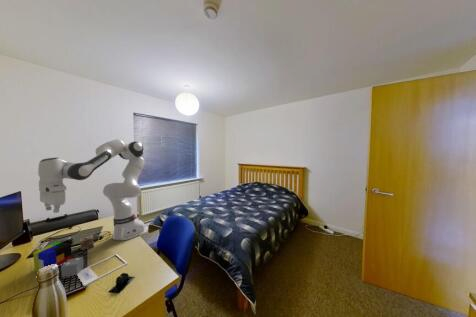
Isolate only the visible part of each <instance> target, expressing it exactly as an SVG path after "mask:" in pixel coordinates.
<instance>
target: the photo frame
mask: <svg viewBox="0 0 476 317" xmlns="http://www.w3.org/2000/svg"><path fill="white" fill-rule="evenodd" d="M115 256H116V257H117V258H119V259H120V260H121V261H122V262H123V264H122V265H120V266H117V267H115V268H114V269H112V270H110V271H108V272H106V273H104V274H102V275H100V276H98V275H97V274H96V273H95V271H94V270H93V269H92V267H94V266H96V265H99V264H101V263H102V262H105V261H107V260H109V259H112V258H114V257H115ZM126 265H128V262H127V261H126V260H124V259H123V258H122V257H121V256H120V255H118V254H117V253H115V254H113V255H110V256H109V257H106V258H105V259H102V260H99V261H98V262H95V263H94V264H91V265H89V266H87V267H84V268H83V269H82V270H81V271H80V272H79V273H78V274H77V276H78V277H77V276H76V277H77V278H78V280H79V279H80V280H79V281H80V283H81V282H82V283H81V284H82V286H83V287H84V286H85V287H86V286H89V285H90V284H92V283H94V282H96V281H98V280H99V279H102V278H103V277H105V276H107V275H109V274H111V273H113V272H115V271H116V270H117V271H118V270H119V269H121V268H123V267H124V266H126Z"/></svg>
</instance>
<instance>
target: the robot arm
mask: <svg viewBox="0 0 476 317" xmlns="http://www.w3.org/2000/svg"><path fill="white" fill-rule="evenodd" d="M95 154H96V155H95V156H94V157H92V158H91V159H89V160H87V161H85V162H71V161H66V160H64V159H61V158H60V157H47V158H44V159H43V158H42V159H41V160H40V161H39V162H38V168H37V169H38V170H37V171H38V172H37V173H38V174H37V175H38V177H39V179H38V180H39V181H38V191H39V201H40V202H41V203H43V204H44V206H45V210H46V211H51V210H52V206H53V211H52V212H53V213H54V214H58V213H59V212H60V208H61V206H63V205H65V203H66V190H67V186H66V185H65V184H64V181H63V180H64V179H68V180H69V179H70V180H74V181H75V180H76V181H83V180H84V181H85V180H87V179H89V177H91V175H92V174H93V173H94V172H95V170H97V169H99V168H100V167H102V166H103V165H104V164H106V163H107V162H109V160H111V159H113V158H115V157H116V156H117V155H118V156H119V157H120V158H121V159H123V160H128V162H127V165H126V166H125V168H124V169H123V171H122V173H121V176H122V178H123V179H124V181H123V182H111V183H108V184H106V185H104V187H103V189H102V192H103V193H102V194H103V195H104V196H105V197H106V198H107V199H108V200H109V201H110V204H111V205H112V209H113V222H112V223H113V234H112V236H111V237H112V239H113V240H115V241H122V242H123V241H126V240H130V239H133V238H136V237H139V236H141V235H145V234H147V233H148V232H149V227H148V226H147V225H145V222H144V221H143V220H140V219H139V218H137V215H136V214H135V213H133V205H132V203H131V202H130V201H129V200H128V199H133V198H134V199H135V198H137V197H139V195H140V193H141V190H142V189H141V186H140V185H139V183H138V180H139V177H140V175H141V173H142V171H143V168H144V167H145V159H144V158H143V157H142V156H143V154H144V146H143V143H142V142H139V141H131V142H130V143H127V144H126V143H125V142H124V141H123V140H122V139H119V138H118V139H112V140H109V141H107V142H105V143H102V144H101V145H98V146H97V148H96V149H95ZM138 235H139V236H138Z"/></svg>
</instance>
